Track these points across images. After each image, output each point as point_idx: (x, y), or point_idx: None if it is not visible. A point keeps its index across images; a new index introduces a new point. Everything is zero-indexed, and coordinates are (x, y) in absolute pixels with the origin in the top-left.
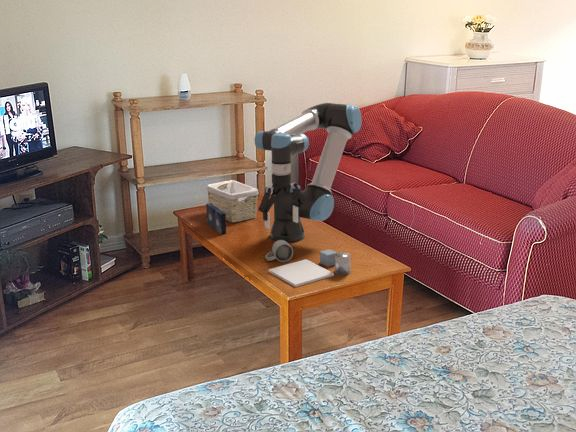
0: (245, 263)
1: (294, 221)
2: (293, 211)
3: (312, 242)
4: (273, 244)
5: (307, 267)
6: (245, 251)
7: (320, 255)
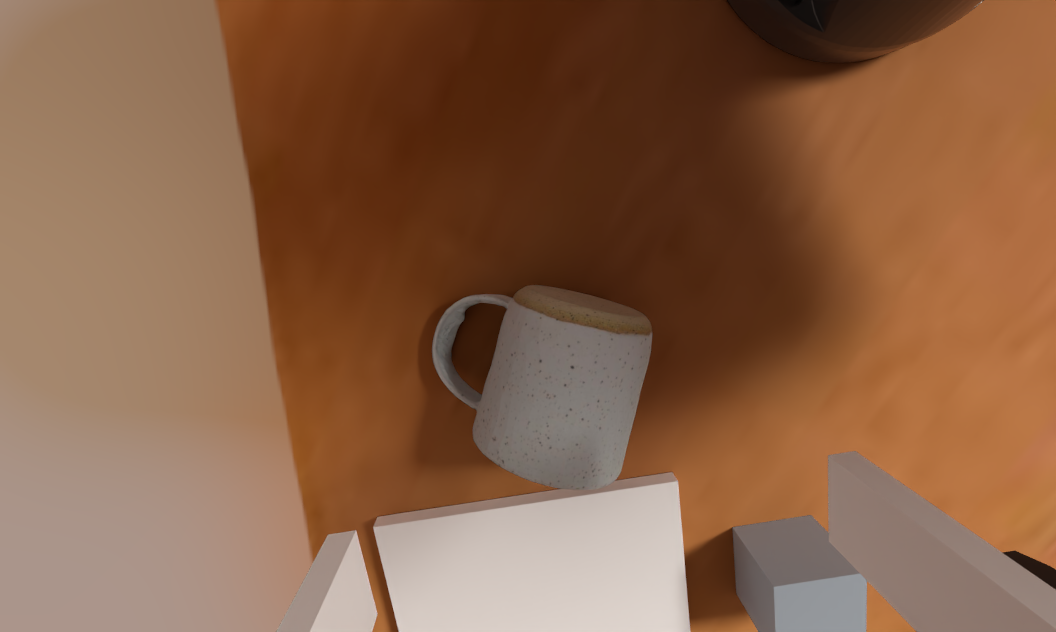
0: (278, 320)
1: (832, 498)
2: (975, 587)
3: (934, 154)
4: (519, 322)
5: (611, 598)
6: (359, 74)
7: (760, 572)
